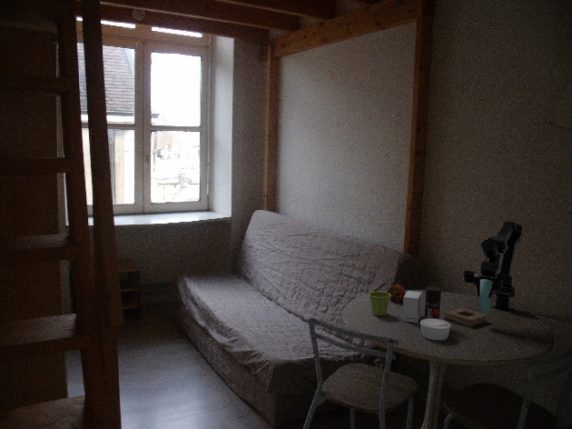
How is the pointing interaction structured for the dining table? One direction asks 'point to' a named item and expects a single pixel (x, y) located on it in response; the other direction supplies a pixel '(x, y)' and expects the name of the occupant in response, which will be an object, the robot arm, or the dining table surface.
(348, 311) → the dining table surface
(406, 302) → the skincare box
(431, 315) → the deodorant
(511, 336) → the dining table surface
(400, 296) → the dragon fruit
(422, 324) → the ramekin
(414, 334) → the dining table surface
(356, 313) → the dining table surface
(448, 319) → the socket block
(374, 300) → the plant pot
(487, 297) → the peg
